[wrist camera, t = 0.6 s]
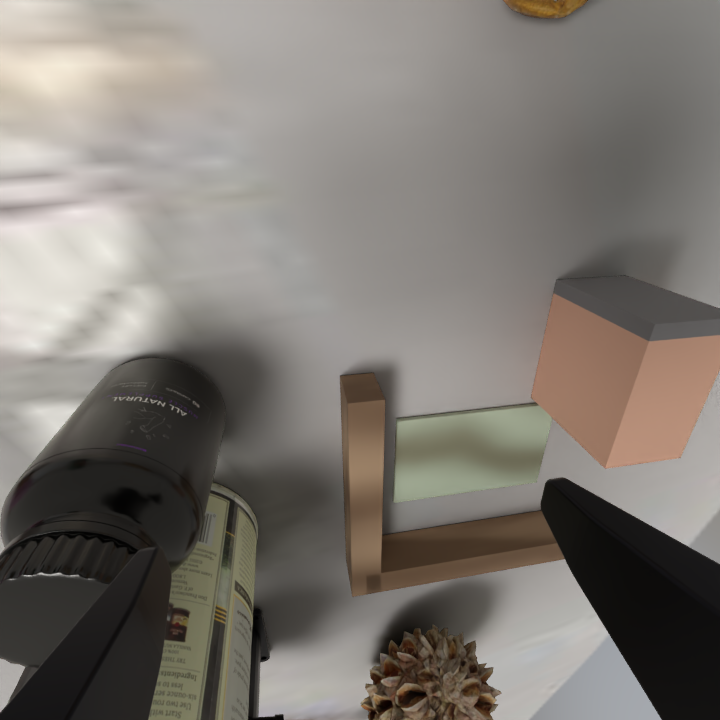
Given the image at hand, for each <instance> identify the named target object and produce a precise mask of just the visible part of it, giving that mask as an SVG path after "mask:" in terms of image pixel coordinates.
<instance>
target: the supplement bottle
mask: <svg viewBox="0 0 720 720" xmlns="http://www.w3.org/2000/svg"><path fill="white" fill-rule="evenodd" d="M225 421H226V410H225V405H224V401H223V399H222V396H221V394H220V392H219V391H218V389H217V387H216V386H215V385H214V384H213V382H212V381H211V380H210V379H209V378H208V377H206V376H205V375H204V374H203V373H201V372H200V371H198V370H197V369H195V368H193V367H191V366H189V365H187V364H185V363H182V362H179V361H175V360H171V359H165V358H143V359H137V360H133V361H130V362H127V363H125V364H122V365H120V366H118V367H116V368H115V369H113V370H112V371H111V372H109V373H108V374H107V375H106V376H105V377H104V378H103V379H102V380H101V381H100V382H99V383H98V384H97V386H96V387H95V388H94V389H93V390H92V391H91V392H90V394H89V395H88V396H87V397H86V399H85V400H84V401H83V402H82V403H81V405H80V406H79V407H78V408H77V409H76V411H75V412H74V413H73V414H72V415H71V417H70V418H69V419H68V420H67V421H66V423H65V424H64V425H63V426H62V427H61V429H60V430H59V431H58V432H57V433H56V435H55V436H54V437H53V438H52V440H51V441H50V442H49V443H48V444H47V446H46V447H45V448H44V449H43V450H42V452H41V453H40V454H39V455H38V456H37V458H36V459H35V460H34V461H33V462H32V464H31V465H30V466H29V467H28V468H27V470H26V471H25V472H24V473H23V475H22V476H21V477H20V478H19V480H18V481H17V482H16V484H15V485H14V487H13V488H12V489H11V491H10V492H9V494H8V496H7V498H6V500H5V502H4V505H3V508H2V513H1V519H0V531H1V537H2V541H3V544H4V547H5V549H4V550H3V552H2V553H1V554H0V658H1V659H4V660H6V661H8V662H10V663H14V664H20V665H22V666H25V667H35V668H39V667H40V665H41V664H42V663H43V662H44V661H45V660H46V658H47V657H48V656H49V655H50V654H51V653H52V651H53V650H54V649H55V648H56V647H57V645H58V644H59V643H60V642H61V641H62V640H63V638H64V637H65V636H66V635H67V634H68V633H69V631H70V630H71V629H72V628H73V627H74V625H75V624H76V623H77V622H78V621H79V620H80V618H81V617H82V616H83V615H84V614H85V613H86V611H87V610H88V609H89V608H90V607H91V605H92V604H93V603H94V602H95V601H96V600H97V598H98V597H99V596H100V595H101V594H102V593H103V591H104V590H105V589H106V588H107V587H108V586H109V584H110V583H111V582H112V581H113V580H114V578H115V577H116V576H117V575H118V574H119V573H120V571H121V570H122V569H123V568H124V567H125V566H126V564H127V563H128V562H129V561H130V560H131V558H132V557H133V556H134V555H135V554H136V553H137V552H138V551H139V550H140V549H142V548H147V547H153V546H161V547H162V549H163V550H164V553H165V556H166V558H167V561H168V563H169V566H170V569H171V573H174V572H175V571H176V570H177V569H178V568H179V567H180V566H181V565H182V564H183V563H184V562H185V561H186V560H187V558H188V557H189V556H190V554H191V553H192V551H193V550H194V548H195V546H196V544H197V542H198V539H199V536H200V532H201V529H202V525H203V521H204V517H205V512H206V508H207V503H208V499H209V495H210V490H211V486H212V481H213V477H214V473H215V468H216V464H217V459H218V455H219V451H220V446H221V442H222V437H223V432H224V427H225Z"/></svg>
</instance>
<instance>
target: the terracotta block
mask: <svg viewBox="0 0 720 720" xmlns="http://www.w3.org/2000/svg"><path fill="white" fill-rule="evenodd" d="M719 370H720V309H719V308H716V307H714V306H711V305H708V304H705V303H702V302H699V301H696V300H694V299H691V298H688V297H685V296H682V295H679V294H677V293H674V292H671V291H668V290H665V289H662V288H659V287H657V286H654V285H651V284H648V283H645V282H642V281H639V280H637V279H634V278H631V277H628V276H625V275H624V276H608V277H592V278H576V279H560V280H556V284H555V288H554V293H553V298H552V302H551V307H550V311H549V316H548V321H547V325H546V330H545V335H544V339H543V344H542V348H541V353H540V358H539V362H538V367H537V372H536V376H535V381H534V386H533V390H532V395H531V398H532V399H533V400H534V401H535V402H536V403H537V404H538V405H539V406H540V407H541V408H543V409H544V410H545V411H546V412H547V413H548V414H549V415H550V416H551V417H552V418H553V419H554V420H555V421H556V422H557V423H558V424H559V425H560V426H561V427H562V428H563V429H564V430H565V431H566V432H567V433H568V434H570V435H571V436H572V437H573V438H574V439H575V440H576V441H577V442H578V443H579V444H580V445H581V446H582V447H583V448H584V449H585V450H586V451H587V452H588V453H589V454H590V455H591V456H592V457H593V458H594V459H596V460H597V461H598V462H599V463H600V464H601V465H602V466H603V467H604V468H605V469H607V468H613V467H620V466H627V465H634V464H641V463H648V462H655V461H662V460H669V459H676V458H680V457H681V455H682V453H683V451H684V448H685V446H686V444H687V442H688V439H689V437H690V435H691V433H692V430H693V428H694V426H695V424H696V422H697V419H698V417H699V415H700V413H701V410H702V408H703V406H704V404H705V401H706V399H707V397H708V395H709V392H710V390H711V388H712V386H713V384H714V381H715V379H716V377H717V375H718V372H719Z"/></svg>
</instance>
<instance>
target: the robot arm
mask: <svg viewBox="0 0 720 720" xmlns="http://www.w3.org/2000/svg"><path fill="white" fill-rule="evenodd" d="M541 510H542V513H543V515H544V517H545V520H546V522H547V524H548V526H549V528H550V530H551V532H552V534H553V536H554V538H555V540H556V542H557V544H558V546H559V548H560V550H561V552H562V554H563V556H564V558H565V560H566V562H567V564H568V566H569V568H570V570H571V572H572V574H573V575H574V577H575V579H576V581H577V582H578V584H579V586H580V587H581V589H582V590H583V592H584V594H585V595H586V597H587V599H588V600H589V602H590V604H591V605H592V607H593V608H594V610H595V612H596V613H597V615H598V617H599V618H600V620H601V621H602V623H603V625H604V626H605V628H606V630H607V631H608V633H609V634H610V636H611V638H612V639H613V641H614V642H615V644H616V646H617V647H618V649H619V651H620V652H621V654H622V655H623V657H624V659H625V661H626V662H627V664H628V665H629V667H630V668H631V670H632V672H633V674H634V675H635V677H636V678H637V680H638V682H639V683H640V685H641V687H642V688H643V690H644V692H645V693H646V695H647V696H648V698H649V700H650V701H651V703H652V705H653V706H654V708H655V709H656V711H657V713H658V714H659V716H660V718H661V719H662V720H720V564H718V563H717V562H715V561H713V560H711V559H709V558H708V557H706V556H704V555H702V554H700V553H699V552H697V551H695V550H693V549H691V548H690V547H688V546H686V545H684V544H683V543H681V542H679V541H677V540H675V539H674V538H672V537H670V536H668V535H666V534H665V533H663V532H661V531H659V530H657V529H656V528H654V527H652V526H650V525H648V524H647V523H645V522H643V521H641V520H640V519H638V518H636V517H634V516H632V515H631V514H629V513H627V512H625V511H623V510H622V509H620V508H618V507H616V506H614V505H613V504H611V503H609V502H607V501H605V500H604V499H602V498H600V497H598V496H596V495H595V494H593V493H591V492H589V491H588V490H586V489H584V488H582V487H580V486H579V485H577V484H575V483H573V482H571V481H570V480H568V479H566V478H555V479H549V480H547V482H546V483H545V487H544V491H543V496H542V500H541ZM171 582H172V573H171V569H170V566H169V563H168V561H167V558H166V556H165V553H164V550H163V549H162V547H161V546H153V547H147V548H142V549H140V550H139V551H138V552H137V553H136V554H135V555H134V556H133V557H132V558H131V560H130V561H129V562H128V563H127V564H126V566H125V567H124V568H123V569H122V570H121V571H120V573H119V574H118V575H117V576H116V577H115V578H114V580H113V581H112V582H111V583H110V584H109V586H108V587H107V588H106V589H105V590H104V591H103V593H102V594H101V595H100V596H99V597H98V598H97V600H96V601H95V602H94V603H93V604H92V605H91V607H90V608H89V609H88V610H87V611H86V613H85V614H84V615H83V616H82V617H81V618H80V620H79V621H78V622H77V623H76V624H75V625H74V627H73V628H72V629H71V630H70V631H69V633H68V634H67V635H66V636H65V637H64V638H63V640H62V641H61V642H60V643H59V644H58V645H57V647H56V648H55V649H54V650H53V651H52V653H51V654H50V655H49V656H48V657H47V658H46V660H45V661H44V662H43V663H42V664H41V665H40V667H39V668H38V669H37V670H36V671H35V672H34V674H33V675H32V676H31V677H30V678H29V680H28V681H27V682H26V683H25V684H24V685H23V687H22V688H21V689H20V690H19V691H18V692H17V694H16V695H15V696H14V697H13V698H12V700H11V701H10V702H9V703H8V704H7V705H6V707H5V708H4V709H3V710H2V711H1V712H0V720H148V719H149V714H150V710H151V706H152V701H153V697H154V692H155V688H156V684H157V679H158V675H159V670H160V665H161V660H162V654H163V647H164V639H165V631H166V623H167V615H168V606H169V598H170V590H171ZM269 658H270V651H269V646H268V640H267V635H266V630H265V624H264V619H263V614H262V611H261V610H260V609H253V626H252V643H251V665H250V685H249V709H248V720H284V717H283V714H279V715H275V716H273V717H258V713H259V684H260V662H264V661H267V660H268V659H269Z"/></svg>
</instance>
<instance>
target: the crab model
mask: <svg viewBox="0 0 720 720" xmlns="http://www.w3.org/2000/svg"><path fill="white" fill-rule="evenodd" d="M503 1H504V2H505V3H506V4H507V5H508V6H509V7H510V8H511V9H512V10H514V11H516V12H519V13H521V14H523V15H525V16H530V17H535V18H561V17H566V16H567V15H569V14H571V13H572V12H573V11H575V10H576V9H578V8H580V7H581V6H583V5H584V4H585V3H586V2H587V1H588V0H557V1H554V0H503Z"/></svg>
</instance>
